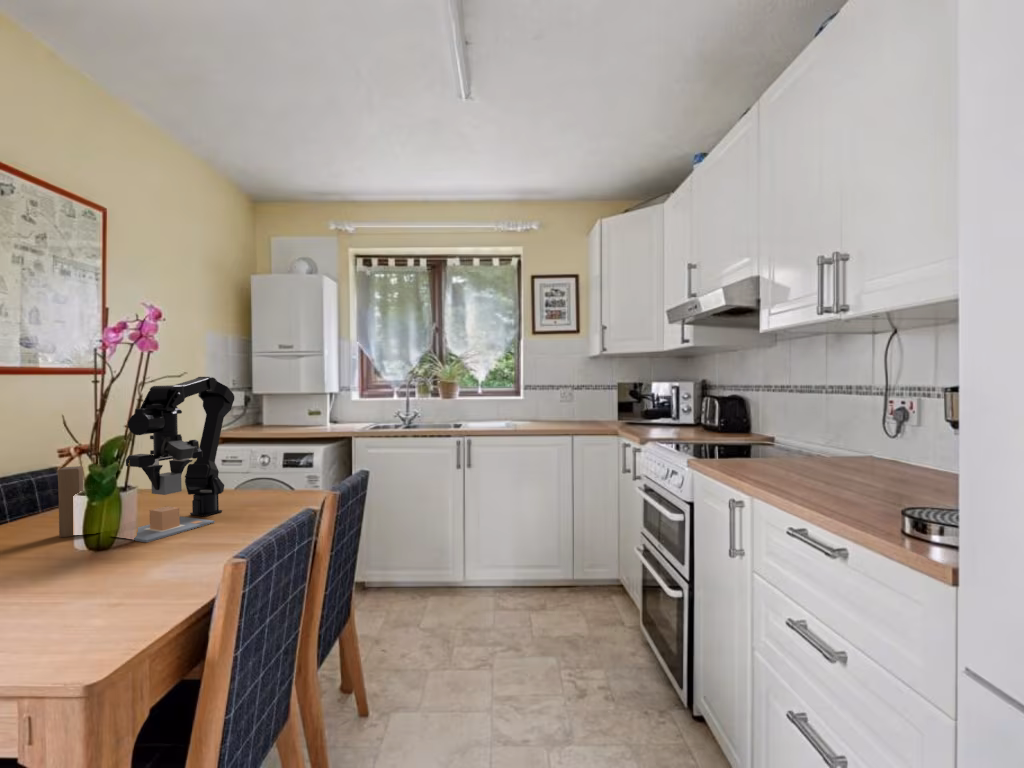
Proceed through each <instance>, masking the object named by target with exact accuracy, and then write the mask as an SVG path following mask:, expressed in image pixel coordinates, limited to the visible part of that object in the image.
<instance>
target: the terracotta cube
mask: <svg viewBox="0 0 1024 768" xmlns="http://www.w3.org/2000/svg"><path fill="white" fill-rule="evenodd" d="M149 524H150V529H156V530H166V529H170V528H173V527H177V526H180V507H174V506H169V505H167V506H162V507H157V508H154V509H150V510H149Z"/></svg>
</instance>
